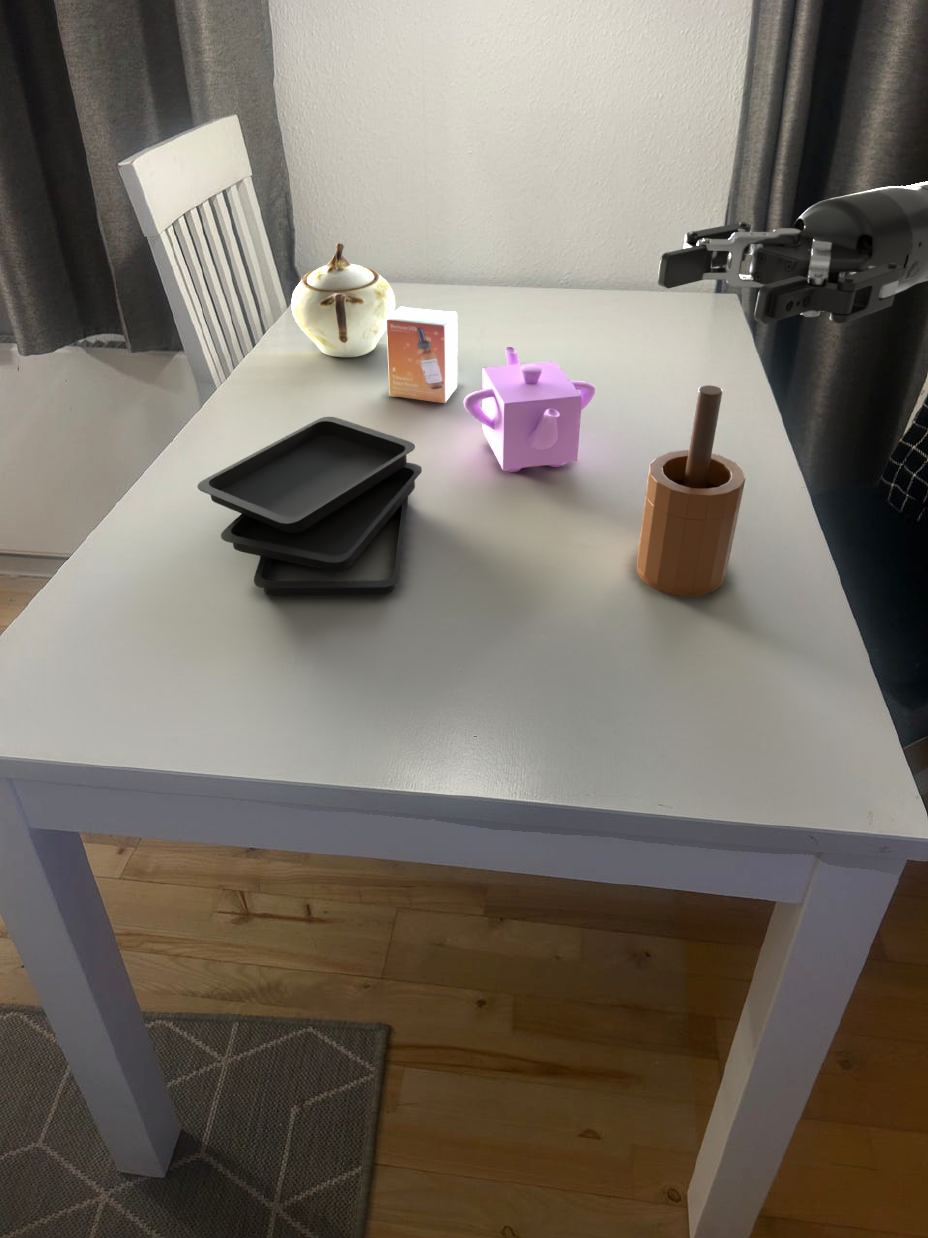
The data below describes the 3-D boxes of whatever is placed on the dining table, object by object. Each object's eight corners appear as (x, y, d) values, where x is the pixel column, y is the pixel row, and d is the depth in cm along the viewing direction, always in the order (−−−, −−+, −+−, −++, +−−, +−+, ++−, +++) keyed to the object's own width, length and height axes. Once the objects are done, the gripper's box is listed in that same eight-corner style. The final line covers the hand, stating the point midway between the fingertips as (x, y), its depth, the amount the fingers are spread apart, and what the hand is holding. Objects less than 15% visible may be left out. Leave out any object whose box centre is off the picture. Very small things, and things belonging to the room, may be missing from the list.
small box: (388, 397, 122) (384, 319, 115) (403, 381, 126) (399, 304, 119) (446, 404, 120) (444, 325, 113) (458, 387, 124) (457, 310, 118)
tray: (449, 595, 86) (448, 549, 83) (197, 622, 83) (186, 575, 80) (410, 450, 110) (408, 410, 106) (212, 467, 107) (204, 426, 103)
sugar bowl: (399, 371, 129) (393, 261, 120) (292, 375, 128) (278, 265, 119) (395, 322, 144) (390, 221, 135) (300, 325, 143) (288, 224, 134)
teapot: (442, 459, 108) (440, 370, 101) (506, 419, 116) (509, 335, 110) (551, 498, 100) (557, 405, 94) (611, 452, 109) (621, 364, 102)
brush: (689, 553, 90) (719, 379, 79) (705, 572, 87) (738, 395, 76) (657, 558, 89) (683, 383, 78) (672, 577, 87) (701, 399, 76)
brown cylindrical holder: (700, 543, 93) (717, 445, 86) (740, 590, 86) (762, 487, 80) (623, 555, 91) (635, 456, 85) (657, 603, 85) (673, 500, 78)
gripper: (798, 173, 68) (639, 204, 61) (976, 211, 59) (812, 253, 52) (778, 275, 73) (627, 315, 66) (940, 326, 64) (785, 379, 56)
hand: (709, 288), depth 59 cm, fingers open, 8 cm apart
